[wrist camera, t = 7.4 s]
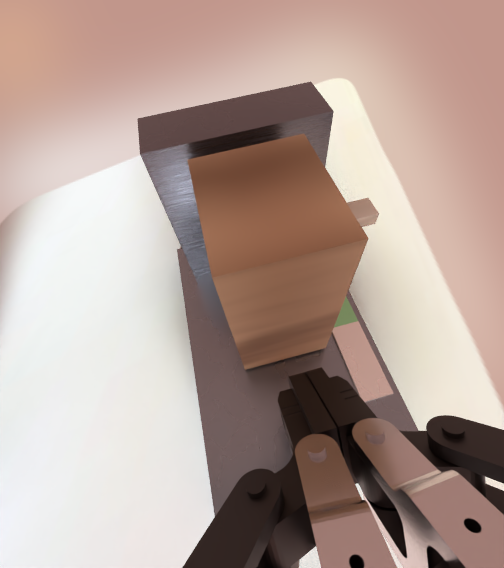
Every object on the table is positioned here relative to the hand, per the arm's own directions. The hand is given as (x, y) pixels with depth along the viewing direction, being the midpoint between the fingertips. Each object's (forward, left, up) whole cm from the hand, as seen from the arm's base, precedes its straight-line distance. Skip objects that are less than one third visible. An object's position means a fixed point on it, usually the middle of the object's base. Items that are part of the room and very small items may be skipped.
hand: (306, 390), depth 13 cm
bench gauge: (-3, +3, -5) cm, 7 cm away
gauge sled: (-3, +5, -4) cm, 7 cm away
